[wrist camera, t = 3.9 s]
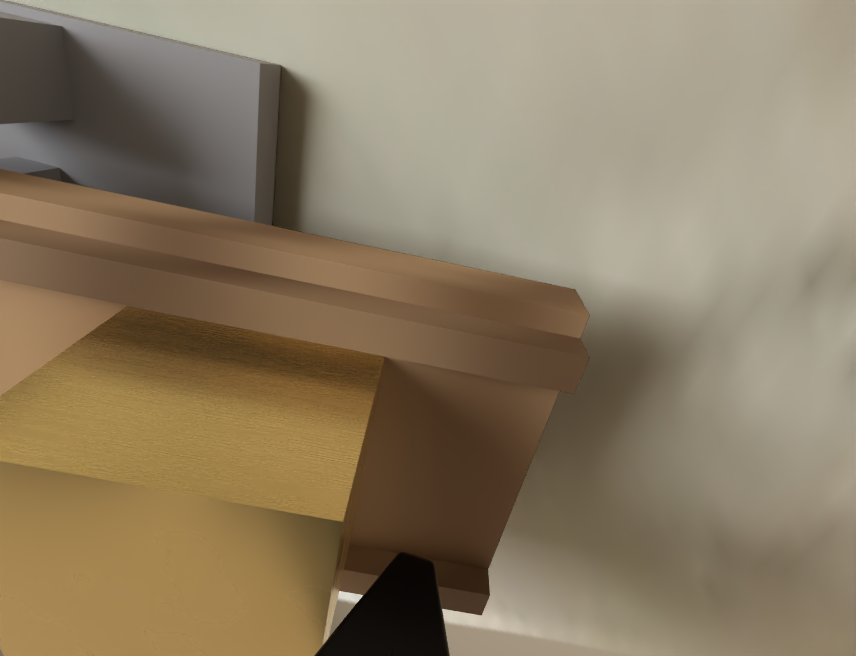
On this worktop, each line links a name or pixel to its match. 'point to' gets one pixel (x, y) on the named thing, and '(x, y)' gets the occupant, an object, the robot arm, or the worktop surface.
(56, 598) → the block
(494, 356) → the balance beam
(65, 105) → the pivot stand
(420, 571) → the robot arm
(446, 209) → the worktop surface
